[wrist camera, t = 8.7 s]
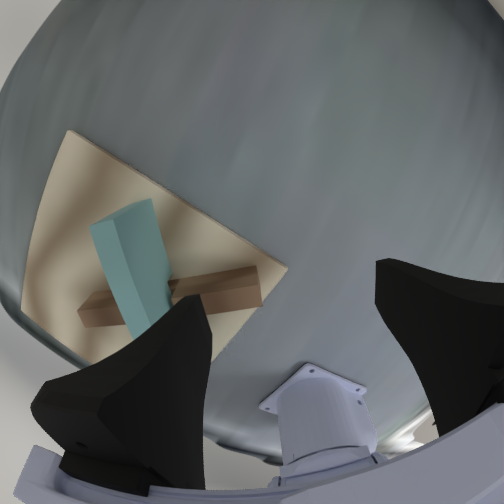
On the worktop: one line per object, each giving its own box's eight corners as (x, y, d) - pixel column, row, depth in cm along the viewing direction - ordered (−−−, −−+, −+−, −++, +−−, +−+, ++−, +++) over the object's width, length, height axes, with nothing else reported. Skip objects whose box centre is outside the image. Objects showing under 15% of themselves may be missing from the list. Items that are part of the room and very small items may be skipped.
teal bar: (131, 203, 18) (88, 226, 12) (151, 198, 18) (113, 219, 12) (185, 358, 23) (173, 409, 17) (202, 356, 22) (193, 409, 17)
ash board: (286, 266, 20) (288, 269, 20) (172, 402, 26) (171, 406, 25) (72, 129, 16) (68, 129, 15) (23, 307, 21) (21, 309, 21)
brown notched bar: (256, 265, 20) (258, 284, 17) (260, 284, 20) (262, 306, 17) (93, 292, 20) (76, 310, 17) (100, 308, 21) (85, 327, 18)
